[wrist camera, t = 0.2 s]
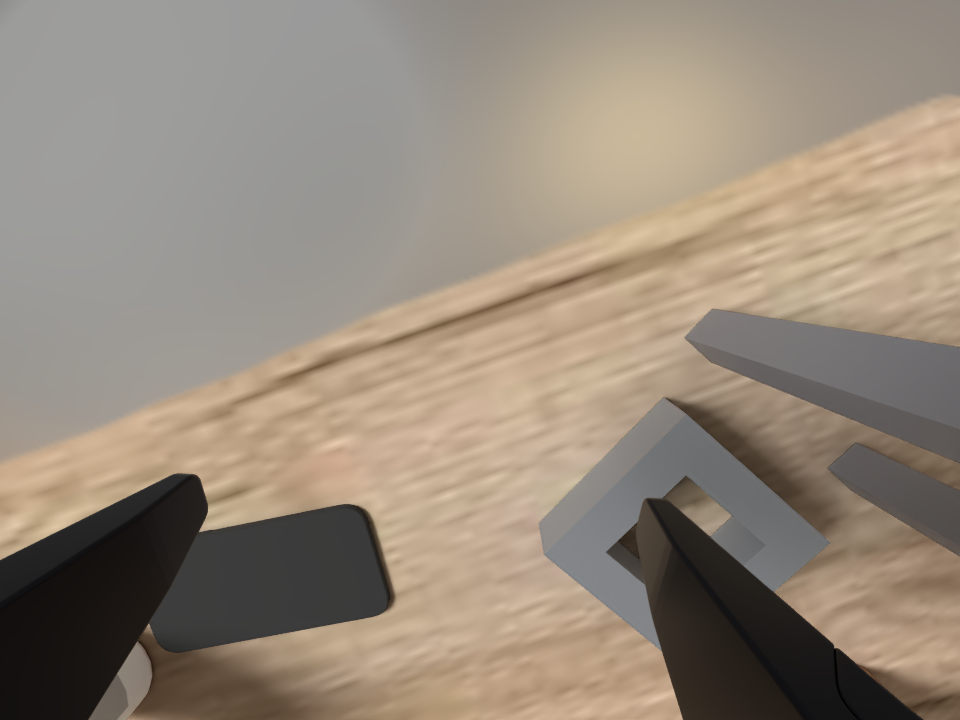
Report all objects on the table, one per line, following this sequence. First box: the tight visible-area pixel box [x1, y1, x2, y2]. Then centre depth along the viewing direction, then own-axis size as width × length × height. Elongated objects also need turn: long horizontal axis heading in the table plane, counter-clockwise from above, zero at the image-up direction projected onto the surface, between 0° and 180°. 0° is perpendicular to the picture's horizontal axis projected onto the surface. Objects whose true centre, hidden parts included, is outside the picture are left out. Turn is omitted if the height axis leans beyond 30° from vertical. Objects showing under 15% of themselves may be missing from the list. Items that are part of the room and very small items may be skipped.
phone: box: [149, 504, 390, 653], centre depth 27 cm, size 7×1×15 cm
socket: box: [539, 397, 831, 651], centre depth 24 cm, size 10×10×3 cm
